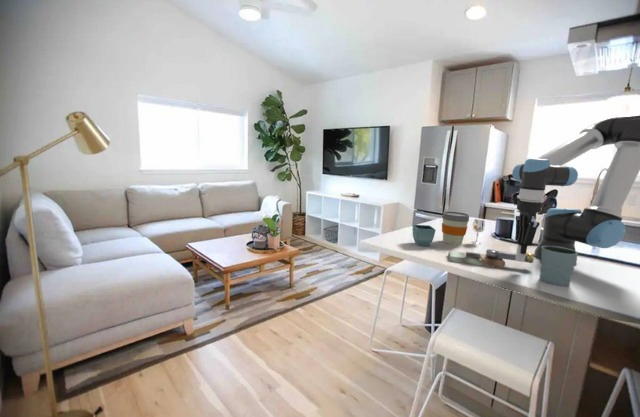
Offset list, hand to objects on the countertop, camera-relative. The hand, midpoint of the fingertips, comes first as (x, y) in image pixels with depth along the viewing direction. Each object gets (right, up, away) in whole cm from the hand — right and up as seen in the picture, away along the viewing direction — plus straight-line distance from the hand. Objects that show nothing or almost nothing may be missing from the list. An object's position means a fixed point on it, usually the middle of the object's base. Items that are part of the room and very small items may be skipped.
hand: (519, 260), depth 116 cm
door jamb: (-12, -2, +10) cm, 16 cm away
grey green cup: (+7, -6, -7) cm, 12 cm away
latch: (0, 0, +6) cm, 6 cm away
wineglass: (+4, +2, +39) cm, 40 cm away
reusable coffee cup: (-9, +3, +38) cm, 39 cm away
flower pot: (-27, +2, +31) cm, 42 cm away
